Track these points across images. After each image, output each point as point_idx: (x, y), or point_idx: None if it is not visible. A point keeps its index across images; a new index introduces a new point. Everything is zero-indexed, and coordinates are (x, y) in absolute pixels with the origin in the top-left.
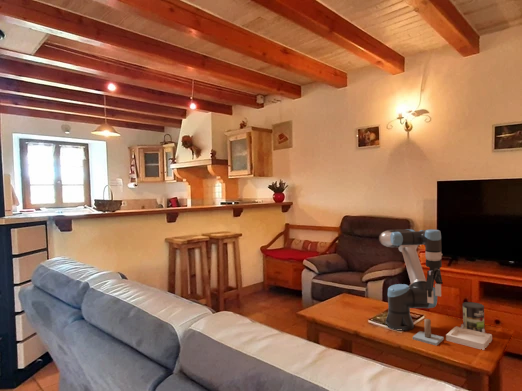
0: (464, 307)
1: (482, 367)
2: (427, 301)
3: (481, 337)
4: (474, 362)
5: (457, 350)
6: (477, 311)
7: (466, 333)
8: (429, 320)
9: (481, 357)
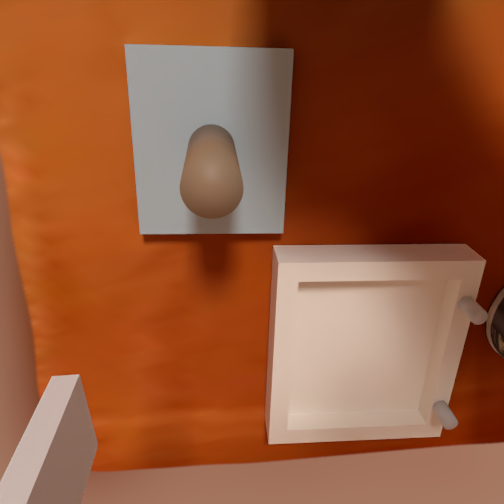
0: None
1: None
2: (46, 391)
3: (409, 386)
4: None
5: (167, 334)
6: None
7: (431, 316)
8: (208, 211)
9: (168, 430)
